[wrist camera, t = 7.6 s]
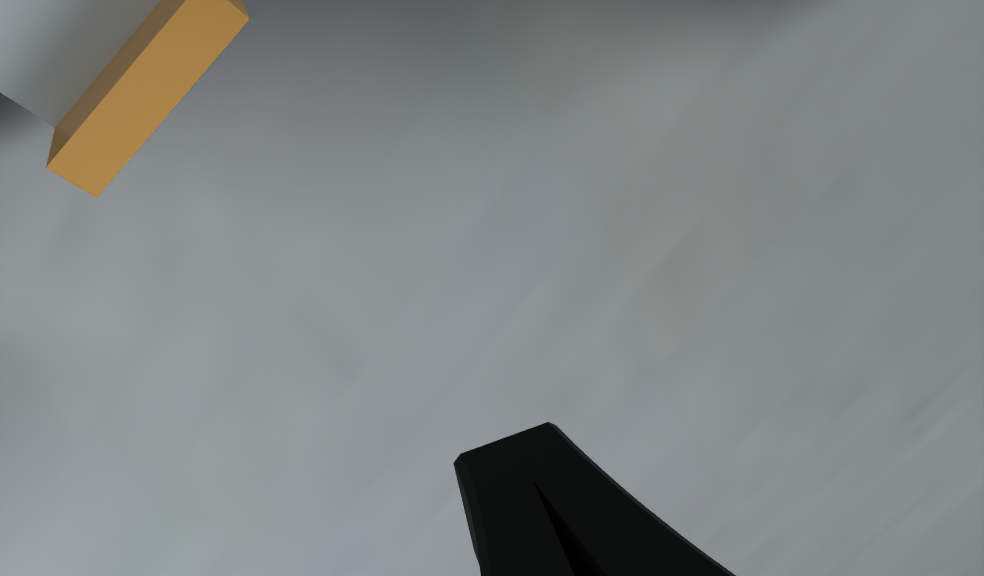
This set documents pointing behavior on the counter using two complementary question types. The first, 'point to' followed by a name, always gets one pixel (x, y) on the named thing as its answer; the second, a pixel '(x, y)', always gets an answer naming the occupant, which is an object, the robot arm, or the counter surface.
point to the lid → (107, 71)
